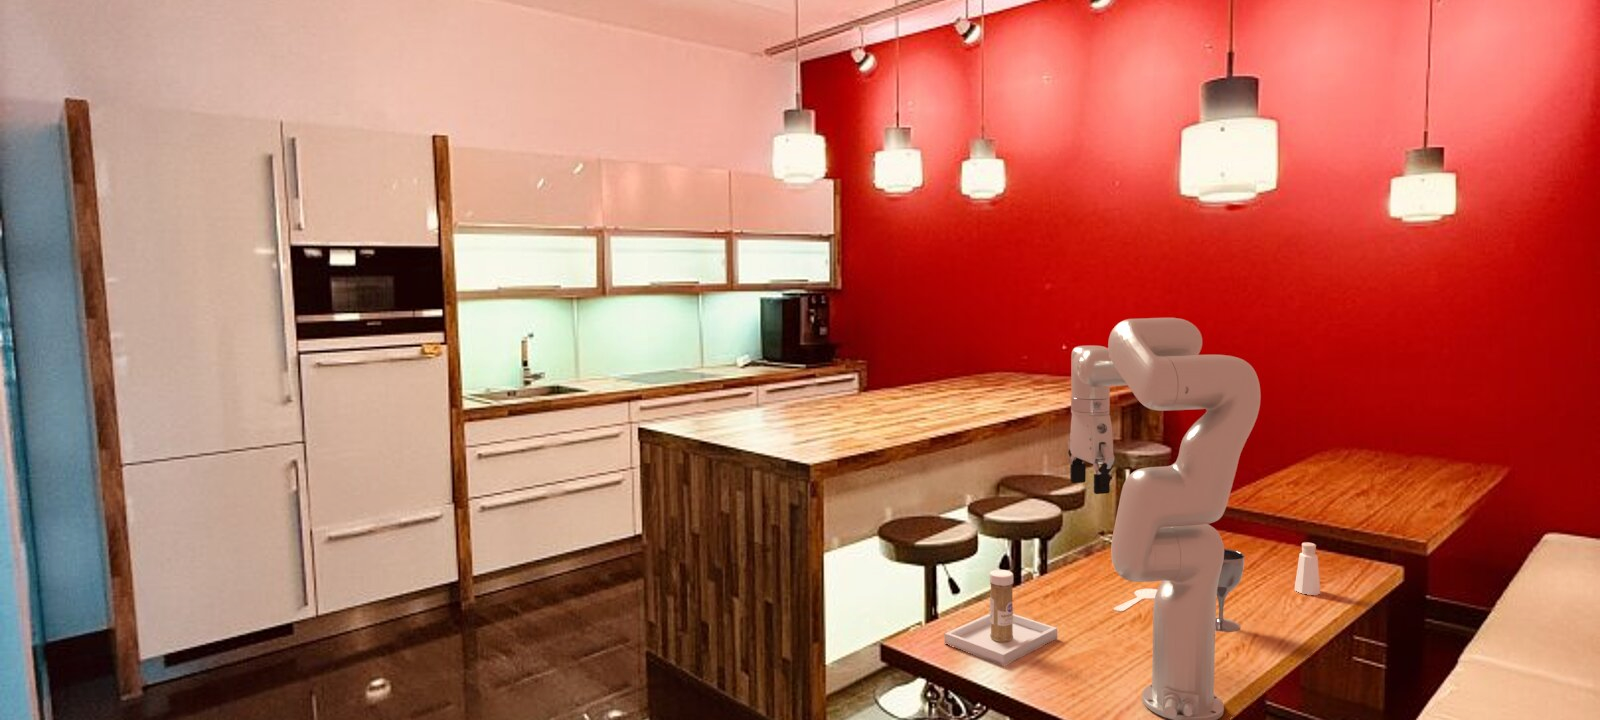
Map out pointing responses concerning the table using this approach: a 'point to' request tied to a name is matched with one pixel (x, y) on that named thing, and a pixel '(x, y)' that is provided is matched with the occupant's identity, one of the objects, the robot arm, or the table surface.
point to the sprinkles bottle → (1001, 605)
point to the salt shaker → (1308, 571)
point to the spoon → (1137, 598)
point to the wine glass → (1228, 586)
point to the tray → (980, 643)
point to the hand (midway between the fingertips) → (1089, 487)
